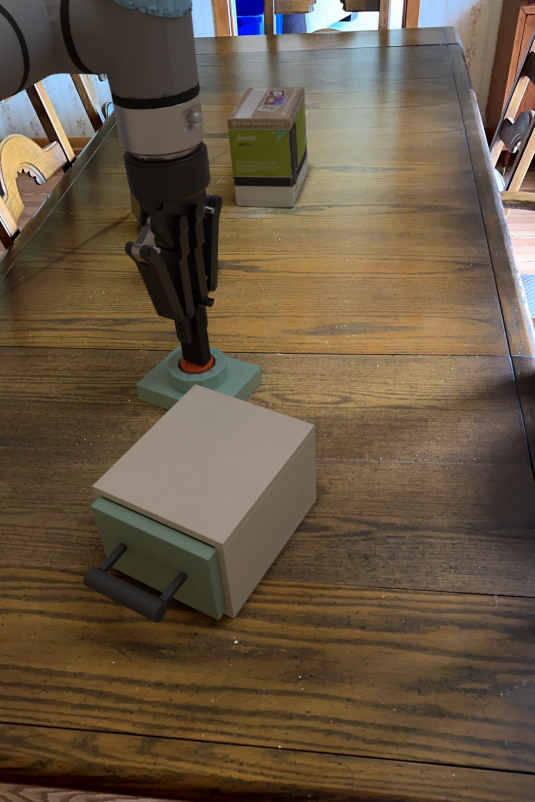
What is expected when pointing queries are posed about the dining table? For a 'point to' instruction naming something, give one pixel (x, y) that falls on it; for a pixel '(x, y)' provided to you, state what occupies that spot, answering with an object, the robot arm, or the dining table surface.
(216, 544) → the grey box-shaped casing
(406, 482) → the dining table surface
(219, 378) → the panel
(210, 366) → the button
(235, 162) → the tea box
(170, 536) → the drawer
